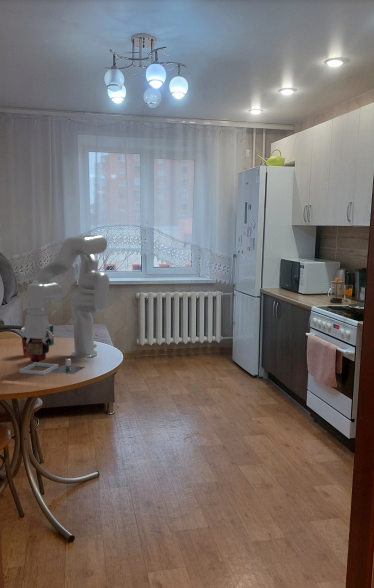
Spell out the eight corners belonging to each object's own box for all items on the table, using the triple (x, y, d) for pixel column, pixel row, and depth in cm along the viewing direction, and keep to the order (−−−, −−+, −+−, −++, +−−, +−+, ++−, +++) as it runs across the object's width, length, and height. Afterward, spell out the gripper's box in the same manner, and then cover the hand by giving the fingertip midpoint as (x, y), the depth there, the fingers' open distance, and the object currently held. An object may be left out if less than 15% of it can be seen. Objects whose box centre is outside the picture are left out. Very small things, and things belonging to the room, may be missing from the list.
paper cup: (25, 358, 231) (24, 330, 229) (19, 355, 237) (17, 327, 235) (40, 355, 236) (39, 328, 234) (34, 352, 242) (33, 325, 240)
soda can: (47, 359, 230) (47, 334, 228) (43, 363, 223) (42, 338, 221) (32, 359, 230) (31, 335, 228) (28, 363, 222) (27, 338, 221)
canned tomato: (40, 343, 263) (40, 323, 262) (55, 342, 264) (54, 323, 263) (37, 346, 256) (36, 326, 254) (52, 346, 256) (51, 326, 255)
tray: (35, 367, 215) (35, 362, 215) (58, 369, 212) (58, 364, 212) (19, 375, 204) (19, 369, 203) (43, 377, 201) (43, 371, 200)
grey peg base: (63, 367, 215) (63, 355, 214) (85, 369, 212) (85, 356, 212) (50, 374, 205) (50, 361, 204) (73, 376, 202) (73, 363, 201)
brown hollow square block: (26, 353, 204) (26, 343, 204) (37, 349, 212) (36, 339, 211) (40, 354, 202) (40, 344, 202) (50, 350, 210) (50, 340, 209)
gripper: (14, 312, 203) (15, 353, 205) (49, 314, 198) (50, 355, 200) (24, 309, 210) (25, 349, 212) (59, 311, 206) (60, 352, 208)
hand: (38, 352), depth 206 cm, fingers closed on brown hollow square block, 6 cm apart
